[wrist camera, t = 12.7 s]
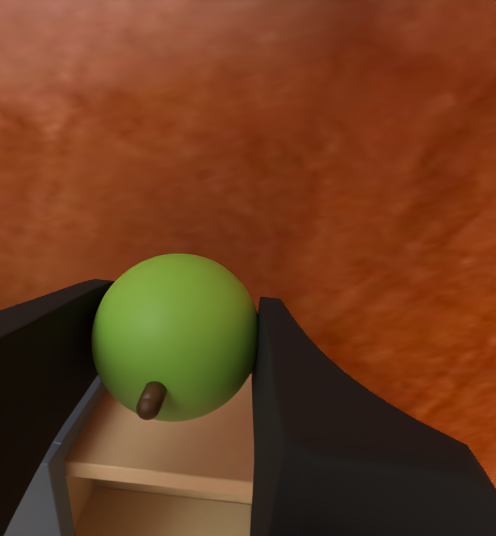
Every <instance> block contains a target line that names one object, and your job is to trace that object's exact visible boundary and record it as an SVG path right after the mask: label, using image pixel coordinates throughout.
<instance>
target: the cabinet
mask: <svg viewBox="0 0 496 536" xmlns="http://www.w3.org/2000/svg"><path fill="white" fill-rule="evenodd" d="M106 389H107V388H106V387H105V385H104V384H103V382H102V380H101V379H100V377H99V375H97V377H96V378H95V380H94V381H93V383H92V384H91V386H90V387H89V389H88V390H87V392H86V393H85V395H84V396H83V397H82V399H81V400H80V402H79V403H78V405H77V406H76V408H75V409H74V410H73V412H72V413H71V415H70V416H69V418H68V419H67V421H66V422H65V423H64V425H63V426H62V428H61V430H60V431H59V433H58V434H57V436H56V438H55V439H54V441H53V442H52V444H51V446H50V448H49V450H48V452H47V453H46V455H45V457H44V459H43V461H42V462H41V464H40V466H39V468H38V470H37V472H36V473H35V475H34V477H33V479H32V481H31V483H30V485H29V487H28V489H27V491H26V493H25V495H24V496H23V498H22V500H21V502H20V504H19V506H18V508H17V510H16V512H15V514H14V516H13V518H12V520H11V522H10V524H9V526H8V528H7V530H6V532H5V534H4V536H75V530H74V524H73V518H72V511H71V505H70V499H69V493H68V486H67V480H66V474H65V467H64V461H63V459H64V458H65V456H66V455H67V453H68V451H69V450H70V448H71V446H72V445H73V443H74V442H75V440H76V438H77V437H78V435H79V433H80V432H81V430H82V428H83V427H84V425H85V424H86V422H87V420H88V419H89V417H90V415H91V414H92V412H93V411H94V409H95V407H96V406H97V404H98V402H99V401H100V399H101V397H102V396H103V394H104V393H105V391H106Z"/></svg>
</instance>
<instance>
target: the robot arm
mask: <svg viewBox="0 0 496 536" xmlns="http://www.w3.org/2000/svg"><path fill="white" fill-rule="evenodd" d="M114 282H115V281H108V280H99V279H94V280H89V281H85V282H82V283H79V284H76V285H73V286H70V287H67V288H64V289H61V290H58V291H56V292H53V293H50V294H47V295H45V296H42V297H39V298H36V299H33V300H30V301H27V302H24V303H21V304H18V305H15V306H12V307H9V308H6V309H3V310H0V536H4V534H5V532H6V530H7V528H8V526H9V524H10V522H11V520H12V518H13V516H14V514H15V512H16V510H17V508H18V506H19V504H20V502H21V500H22V498H23V496H24V495H25V493H26V491H27V489H28V487H29V485H30V483H31V481H32V479H33V477H34V475H35V473H36V472H37V470H38V468H39V466H40V464H41V462H42V461H43V459H44V457H45V455H46V453H47V452H48V450H49V448H50V446H51V444H52V442H53V441H54V439H55V438H56V436H57V434H58V433H59V431H60V430H61V428H62V426H63V425H64V423H65V422H66V421H67V419H68V418H69V416H70V415H71V413H72V412H73V410H74V409H75V408H76V406H77V405H78V403H79V402H80V400H81V399H82V397H83V396H84V395H85V393H86V392H87V390H88V389H89V387H90V386H91V384H92V383H93V381H94V380H95V378H96V377H97V375H98V372H97V370H96V367H95V363H94V359H93V355H92V344H91V336H92V327H93V322H94V318H95V314H96V312H97V309H98V307H99V305H100V303H101V301H102V298H103V297H104V295H105V294H106V292H107V291H108V289H109V288H110V287H111V286H112V284H113V283H114ZM251 382H252V408H253V432H254V475H253V494H252V512H251V530H250V536H496V488H495V487H494V485H493V484H492V482H491V480H490V479H489V477H488V476H487V474H486V472H485V471H484V469H483V468H482V466H481V465H480V463H479V462H478V460H477V459H476V457H475V456H474V454H473V453H472V452H471V450H470V449H469V447H468V446H467V445H466V444H464V443H462V442H460V441H458V440H456V439H454V438H452V437H450V436H448V435H446V434H444V433H442V432H440V431H438V430H436V429H434V428H432V427H430V426H428V425H426V424H424V423H422V422H420V421H418V420H416V419H415V418H413V417H411V416H409V415H408V414H406V413H404V412H403V411H401V410H399V409H397V408H396V407H394V406H392V405H391V404H389V403H387V402H386V401H384V400H383V399H381V398H380V397H378V396H377V395H375V394H374V393H372V392H371V391H369V390H368V389H366V388H365V387H364V386H362V385H361V384H360V383H358V382H357V381H355V380H354V379H353V378H351V377H350V376H349V375H348V374H346V373H345V372H344V371H343V370H341V369H340V368H339V367H338V366H337V365H336V364H335V363H333V362H332V361H331V360H330V359H329V358H328V357H327V356H326V355H325V354H324V353H323V352H322V351H321V350H320V349H319V348H318V347H317V346H316V345H315V344H314V343H313V342H312V341H311V340H310V339H309V338H308V336H307V335H306V334H305V333H304V331H303V330H302V329H301V328H300V326H299V325H298V324H297V322H296V321H295V320H294V318H293V317H292V315H291V314H290V313H289V311H288V310H287V308H286V307H285V305H284V303H283V302H282V301H281V299H277V298H268V297H260V302H259V311H258V345H257V355H256V361H255V364H254V367H253V369H252V379H251Z"/></svg>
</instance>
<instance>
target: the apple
mask: <svg viewBox="0 0 496 536" xmlns="http://www.w3.org/2000/svg"><path fill="white" fill-rule="evenodd" d="M91 344H92V355H93V359H94V363H95V367H96V370H97V372H98V375H99V377H100V379H101V380H102V382H103V384H104V385H105V387H106V388H107V390H108V391H109V392H110V394H111V395H112V396H113V397H114V398H115V399H116V400H117V401H118V402H119V403H121V404H122V405H123V406H125V407H126V408H127V409H129V410H131V411H133V412H134V413H136V414H137V415H138V416H139V417H140V418H141V419H143V420H151V419H153V420H158V421H165V422H180V421H187V420H192V419H196V418H199V417H202V416H205V415H207V414H209V413H211V412H213V411H215V410H216V409H218V408H220V407H221V406H223V405H224V404H226V403H227V402H228V401H229V400H230V399H231V398H232V397H233V396H234V395H235V394H236V393H237V392H238V391H239V390H240V389H241V388H242V386H243V385H244V383H245V382H246V380H247V379H248V377H249V375H250V373H251V371H252V369H253V367H254V364H255V361H256V355H257V345H258V314H257V311H256V308H255V305H254V302H253V300H252V298H251V296H250V294H249V293H248V291H247V289H246V288H245V286H244V285H243V284H242V283H241V282H240V281H239V279H238V278H237V277H236V276H235V275H234V274H233V273H231V272H230V271H229V270H228V269H226V268H225V267H223V266H222V265H220V264H218V263H216V262H215V261H213V260H210V259H207V258H205V257H201V256H197V255H192V254H166V255H160V256H156V257H153V258H150V259H148V260H145V261H143V262H141V263H138V264H137V265H135V266H133V267H132V268H130V269H129V270H128V271H126V272H125V273H124V274H123V275H121V276H120V277H119V278H118V279H117V280H116V281H115V282H114V283H113V284H112V286H111V287H110V288H109V289H108V291H107V292H106V294H105V295H104V297H103V298H102V301H101V303H100V305H99V307H98V309H97V312H96V314H95V318H94V322H93V327H92V336H91Z"/></svg>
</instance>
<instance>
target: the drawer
mask: <svg viewBox="0 0 496 536" xmlns="http://www.w3.org/2000/svg"><path fill="white" fill-rule="evenodd" d="M251 379H252V374H250V375H249V377H248V379H247V380H246V382H245V383H244V385H243V386H242V388H241V389H240V390H239V391H238V392H237V393H236V394H235V395H234V396H233V397H232V398H231V399H230V400H229V401H228V402H227V403H226V404H224V405H223V406H221V407H220V408H218V409H216V410H215V411H213V412H211V413H209V414H207V415H205V416H202V417H199V418H196V419H192V420H187V421H180V422H165V421H158V420H153V419H151V420H143V419H141V418H140V417H139V416H138V415H137V414H136V413H134V412H133V411H131V410H129V409H127V408H126V407H125V406H123V405H122V404H121V403H119V402H118V401H117V400H116V399H115V398H114V397H113V396H112V395H111V394H110V392H109V391H108V390H107V389H106V391H105V393H104V394H103V396H102V397H101V399H100V401H99V402H98V404H97V406H96V407H95V409H94V411H93V412H92V414H91V415H90V417H89V419H88V420H87V422H86V424H85V425H84V427H83V428H82V430H81V432H80V433H79V435H78V437H77V438H76V440H75V442H74V443H73V445H72V446H71V448H70V450H69V451H68V453H67V455H66V456H65V458H64V459H63V461H64V467H65V474H66V480H67V486H68V493H69V499H70V505H71V511H72V518H73V524H74V530H75V536H250V530H251V508H252V506H251V505H252V494H253V475H254V432H253V408H252V382H251Z"/></svg>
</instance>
